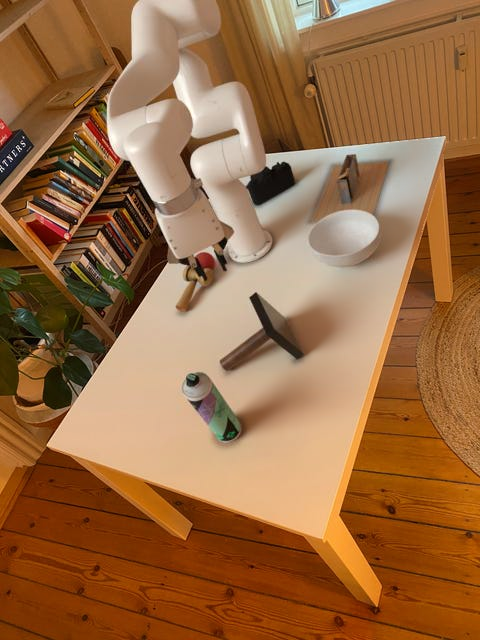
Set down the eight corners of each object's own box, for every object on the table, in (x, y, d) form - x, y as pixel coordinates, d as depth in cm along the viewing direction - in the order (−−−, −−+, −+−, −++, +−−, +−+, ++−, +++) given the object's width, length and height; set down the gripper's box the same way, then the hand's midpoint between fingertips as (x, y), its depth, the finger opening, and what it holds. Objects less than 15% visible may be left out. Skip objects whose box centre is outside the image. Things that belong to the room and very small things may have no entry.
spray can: (215, 422, 101) (175, 368, 87) (240, 415, 100) (204, 360, 86) (217, 445, 98) (175, 394, 84) (242, 439, 97) (205, 385, 82)
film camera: (284, 171, 152) (276, 146, 146) (298, 184, 146) (291, 158, 139) (242, 195, 152) (232, 171, 145) (255, 209, 145) (245, 184, 138)
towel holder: (285, 319, 113) (271, 284, 105) (305, 356, 105) (291, 321, 96) (217, 351, 114) (198, 319, 105) (231, 390, 105) (211, 358, 97)
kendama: (200, 316, 125) (225, 260, 132) (185, 303, 121) (212, 245, 128) (179, 316, 130) (204, 261, 137) (164, 303, 126) (191, 247, 133)
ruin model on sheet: (372, 220, 125) (366, 189, 118) (311, 221, 133) (303, 192, 126) (389, 161, 138) (385, 130, 131) (333, 165, 146) (327, 136, 139)
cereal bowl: (385, 227, 122) (382, 205, 117) (380, 276, 112) (376, 253, 107) (319, 233, 128) (313, 212, 123) (308, 279, 119) (301, 258, 114)
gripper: (214, 166, 85) (246, 243, 98) (129, 207, 86) (173, 278, 99) (225, 186, 80) (258, 264, 93) (134, 229, 81) (180, 301, 94)
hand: (214, 271), depth 96 cm, fingers open, 3 cm apart
